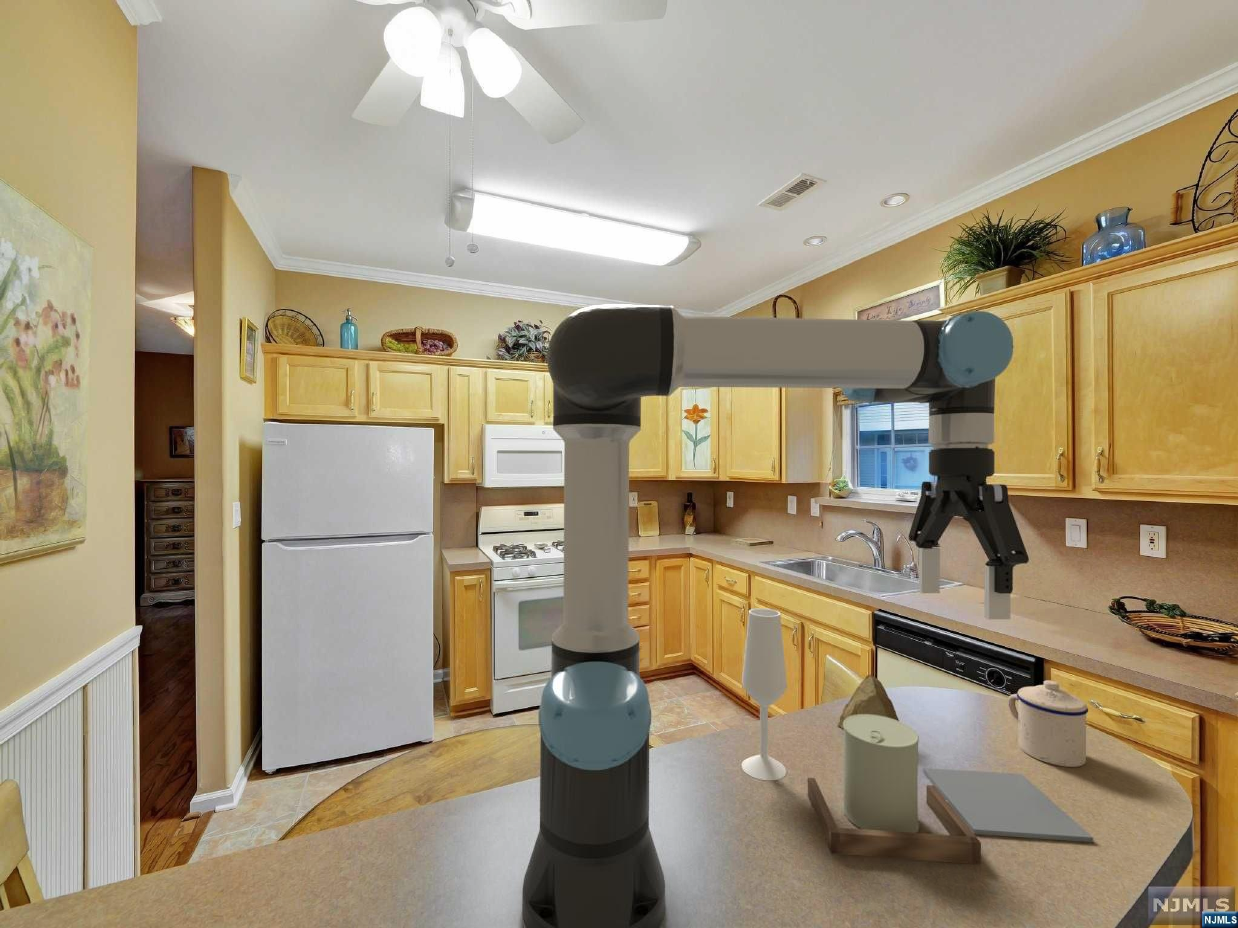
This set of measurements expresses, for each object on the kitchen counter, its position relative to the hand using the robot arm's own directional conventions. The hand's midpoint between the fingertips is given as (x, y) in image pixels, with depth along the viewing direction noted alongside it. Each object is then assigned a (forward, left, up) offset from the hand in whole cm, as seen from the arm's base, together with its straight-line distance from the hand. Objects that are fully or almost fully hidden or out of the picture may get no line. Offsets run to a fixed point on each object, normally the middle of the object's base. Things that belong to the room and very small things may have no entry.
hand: (960, 604), depth 73 cm
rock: (-2, +20, -28) cm, 35 cm away
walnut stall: (-12, -3, -28) cm, 30 cm away
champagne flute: (-23, +11, -28) cm, 38 cm away
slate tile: (+7, +2, -28) cm, 29 cm away
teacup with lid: (+25, +16, -28) cm, 41 cm away
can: (-11, 0, -28) cm, 30 cm away
